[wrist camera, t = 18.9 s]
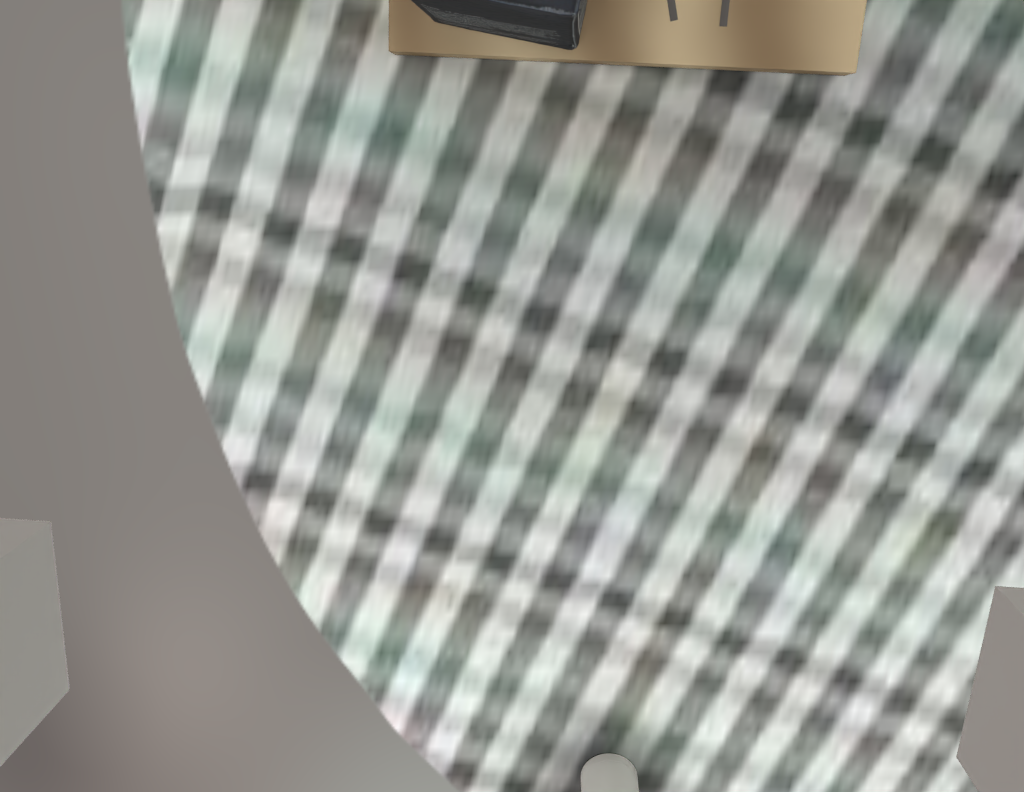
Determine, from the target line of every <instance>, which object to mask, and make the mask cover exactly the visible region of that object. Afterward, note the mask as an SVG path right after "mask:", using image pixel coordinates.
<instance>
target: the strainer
mask: <svg viewBox="0 0 1024 792" xmlns="http://www.w3.org/2000/svg"><path fill="white" fill-rule="evenodd" d="M581 792H639V787H638V776H637V771H636V769H635V767H634V765H633V764H632V763H631V762H630V761H629V760H628V759H626V758H625V757H623V756H620V755H617V754H612V753H606V754H600V755H597V756H595V757H593V758H591V759H590V760H588V761H587V762H586V764H585V765H584V766H583V768H582V771H581Z"/></svg>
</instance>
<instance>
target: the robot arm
mask: <svg viewBox="0 0 1024 792" xmlns="http://www.w3.org/2000/svg"><path fill="white" fill-rule="evenodd" d="M68 691H69V680H68V671H67V661H66V652H65V643H64V634H63V625H62V616H61V607H60V598H59V590H58V580H57V571H56V562H55V553H54V544H53V535H52V526H51V521H36V520H22V519H7V518H0V766H1V765H2V764H3V763H4V762H5V761H6V760H7V758H8V757H9V756H10V755H11V754H12V753H13V752H14V751H15V750H16V748H18V746H19V745H20V744H21V743H22V742H23V741H24V740H25V739H26V738H27V736H28V735H29V734H30V733H31V732H32V731H33V730H34V729H35V728H36V726H37V725H38V724H39V723H40V722H41V721H42V720H43V719H44V717H45V716H46V715H47V714H48V713H49V712H50V711H51V710H52V708H54V706H55V705H56V704H57V703H58V702H59V701H60V700H61V699H62V697H63V696H64V695H65V694H66V693H67V692H68ZM956 757H957V759H958V760H959V762H960V763H961V765H962V767H963V768H964V770H965V771H966V773H967V774H968V776H969V777H970V779H971V780H972V782H973V784H974V785H975V787H976V788H977V790H978V791H979V792H1024V588H1014V587H999V586H995V591H994V595H993V599H992V604H991V608H990V612H989V617H988V621H987V625H986V630H985V634H984V639H983V643H982V647H981V652H980V656H979V660H978V665H977V669H976V673H975V678H974V682H973V687H972V691H971V695H970V700H969V704H968V708H967V713H966V717H965V721H964V726H963V730H962V734H961V739H960V743H959V748H958V752H957V756H956Z"/></svg>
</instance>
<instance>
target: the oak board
mask: <svg viewBox="0 0 1024 792" xmlns="http://www.w3.org/2000/svg"><path fill="white" fill-rule="evenodd" d="M866 3H867V0H587V5H586V11H585V16H584V20H583V24H582V29H581V33H580V39H579V44H578V46H577V48H575V49H573V50H566V49H562V48H557V47H552V46H547V45H541V44H537V43H533V42H527V41H523V40H517V39H513V38H508V37H503V36H498V35H493V34H488V33H483V32H479V31H473V30H468V29H464V28H459V27H456V26H450V25H446V24H441V23H437V22H434V21H433V20H432V19H431V17H430V16H428V15H427V14H426V13H425V12H424V11H423V10H421V9H420V8H419V7H418V6H417V5H416V4H415V3H414V2H412V1H411V0H389V51H390V52H392V53H393V54H395V55H415V56H436V57H458V58H479V59H501V60H522V61H543V62H565V63H586V64H608V65H629V66H650V67H672V68H693V69H715V70H736V71H758V72H779V73H800V74H822V75H843V76H845V75H849V74H853V73H856V69H857V62H858V56H859V49H860V42H861V36H862V29H863V22H864V16H865V9H866Z"/></svg>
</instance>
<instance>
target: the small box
mask: <svg viewBox="0 0 1024 792" xmlns="http://www.w3.org/2000/svg"><path fill="white" fill-rule="evenodd" d="M411 1H412V2H414V3H415V4H416V5H417V6H418V7H419V8H420V9H421V10H423V11H424V12H425V13H426V14H427V15H428V16H430V17H431V19H432V20H433V21H434V22H437V23H441V24H446V25H450V26H456V27H459V28H464V29H468V30H473V31H479V32H483V33H488V34H493V35H498V36H503V37H508V38H513V39H517V40H523V41H527V42H533V43H537V44H541V45H547V46H552V47H557V48H562V49H566V50H573V49H575V48H577V46H578V44H579V39H580V33H581V29H582V24H583V20H584V16H585V11H586V5H587V0H411Z"/></svg>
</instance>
